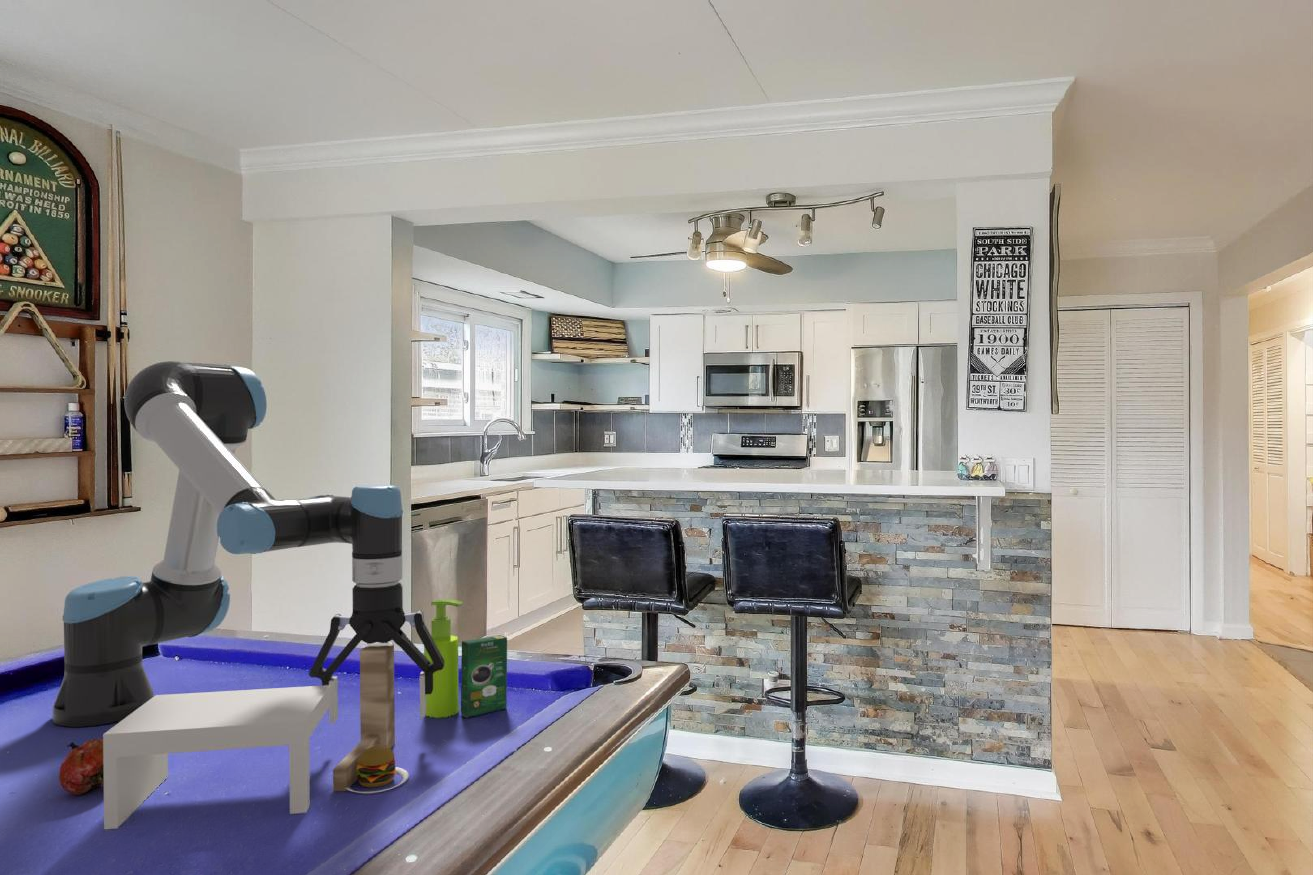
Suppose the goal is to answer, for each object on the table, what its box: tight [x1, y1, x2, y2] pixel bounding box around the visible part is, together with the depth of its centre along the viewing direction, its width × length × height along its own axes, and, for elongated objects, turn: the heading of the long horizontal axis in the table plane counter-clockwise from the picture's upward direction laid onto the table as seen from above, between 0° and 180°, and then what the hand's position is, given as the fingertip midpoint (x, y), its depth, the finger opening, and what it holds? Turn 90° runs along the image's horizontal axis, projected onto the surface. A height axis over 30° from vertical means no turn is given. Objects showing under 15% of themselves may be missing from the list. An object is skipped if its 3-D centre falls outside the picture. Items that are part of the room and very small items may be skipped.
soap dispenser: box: [423, 598, 464, 719], centre depth 148 cm, size 6×7×20 cm
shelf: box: [102, 685, 331, 830], centre depth 115 cm, size 16×24×12 cm, turn 100°
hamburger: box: [345, 746, 410, 794], centre depth 119 cm, size 12×12×6 cm
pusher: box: [332, 643, 396, 792], centre depth 124 cm, size 18×4×16 cm, turn 179°
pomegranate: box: [58, 738, 104, 796], centre depth 116 cm, size 7×7×10 cm
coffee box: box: [460, 635, 508, 718], centre depth 148 cm, size 8×3×13 cm, turn 129°
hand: (378, 717), depth 132 cm, fingers open, 13 cm apart
